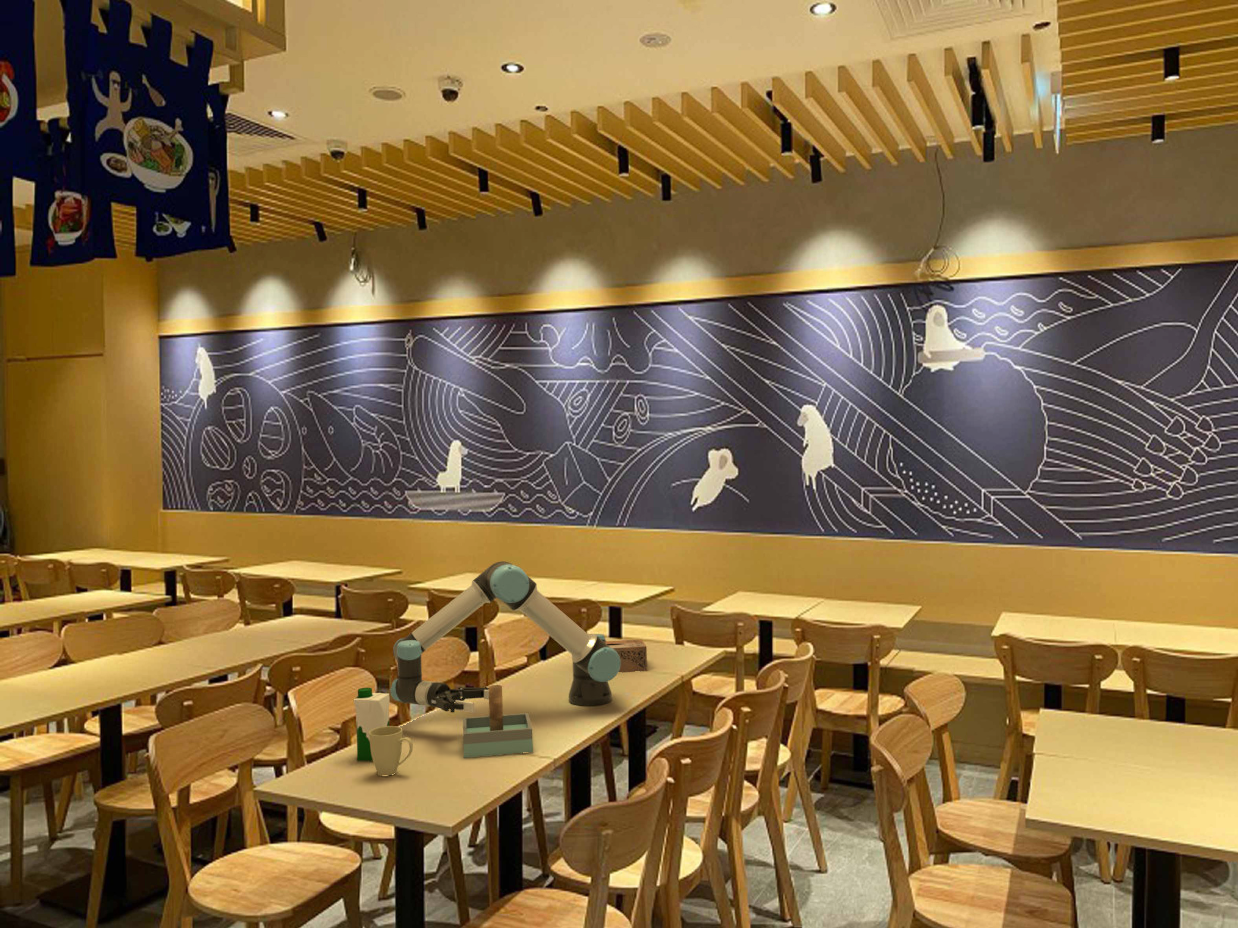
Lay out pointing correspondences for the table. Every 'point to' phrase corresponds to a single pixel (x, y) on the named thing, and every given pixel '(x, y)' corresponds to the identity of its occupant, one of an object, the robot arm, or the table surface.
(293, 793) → the table surface
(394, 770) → the mug
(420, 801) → the table surface
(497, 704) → the peg
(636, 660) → the tissue box cover
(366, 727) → the milk carton
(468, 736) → the box
